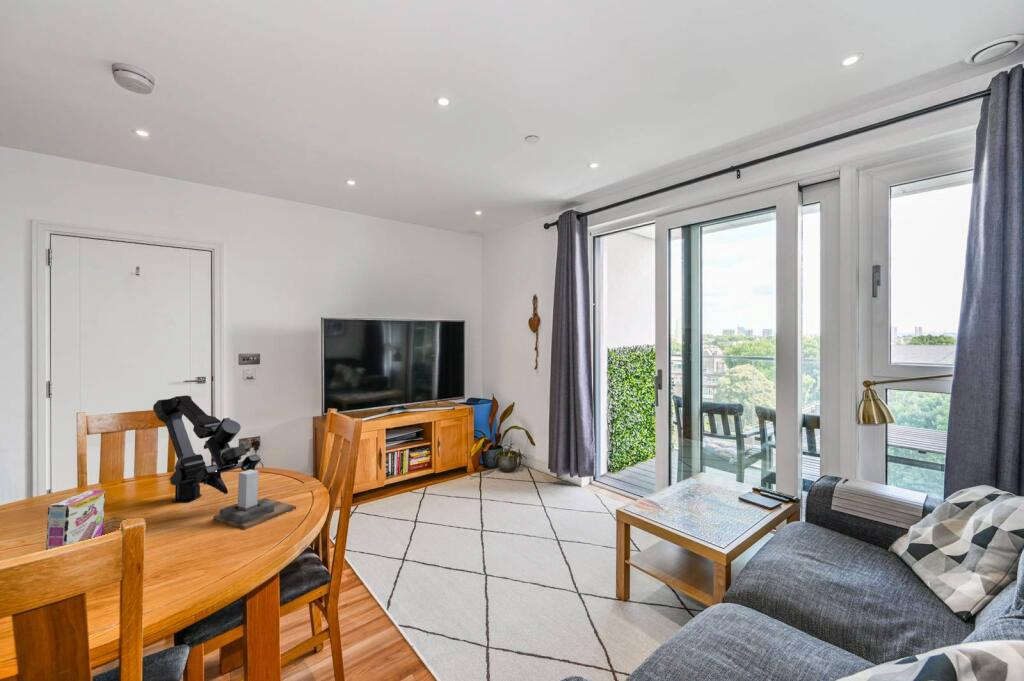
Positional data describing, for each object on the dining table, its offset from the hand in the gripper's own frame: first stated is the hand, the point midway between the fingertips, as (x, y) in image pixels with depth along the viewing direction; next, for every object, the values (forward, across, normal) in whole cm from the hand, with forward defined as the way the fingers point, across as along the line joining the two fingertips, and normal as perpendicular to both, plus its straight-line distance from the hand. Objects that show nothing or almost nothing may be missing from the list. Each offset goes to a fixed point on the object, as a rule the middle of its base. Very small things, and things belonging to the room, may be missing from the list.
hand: (240, 488), depth 142 cm
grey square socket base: (+9, +3, +4) cm, 10 cm away
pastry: (-8, -25, +21) cm, 34 cm away
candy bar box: (0, -37, +13) cm, 40 cm away
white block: (+8, 0, +3) cm, 9 cm away
